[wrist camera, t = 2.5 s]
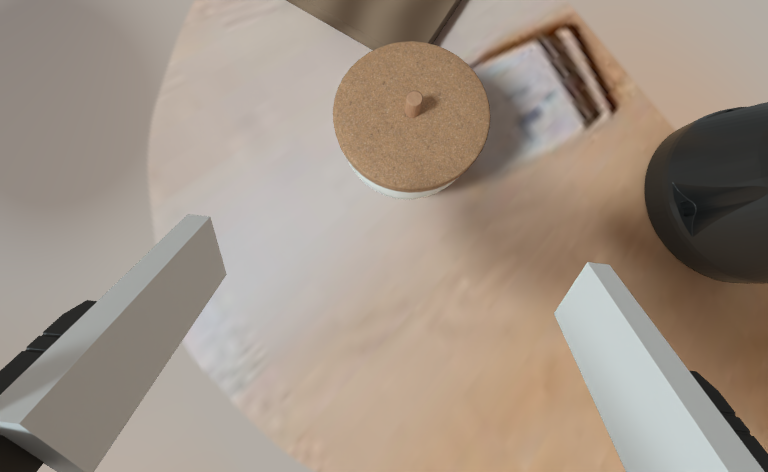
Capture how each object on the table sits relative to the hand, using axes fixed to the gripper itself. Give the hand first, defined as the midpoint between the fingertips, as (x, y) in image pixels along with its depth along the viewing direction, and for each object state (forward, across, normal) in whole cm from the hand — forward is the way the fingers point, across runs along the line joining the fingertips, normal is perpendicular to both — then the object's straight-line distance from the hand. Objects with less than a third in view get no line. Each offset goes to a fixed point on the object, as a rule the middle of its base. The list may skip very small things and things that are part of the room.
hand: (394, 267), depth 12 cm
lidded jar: (+19, 0, -4) cm, 20 cm away
